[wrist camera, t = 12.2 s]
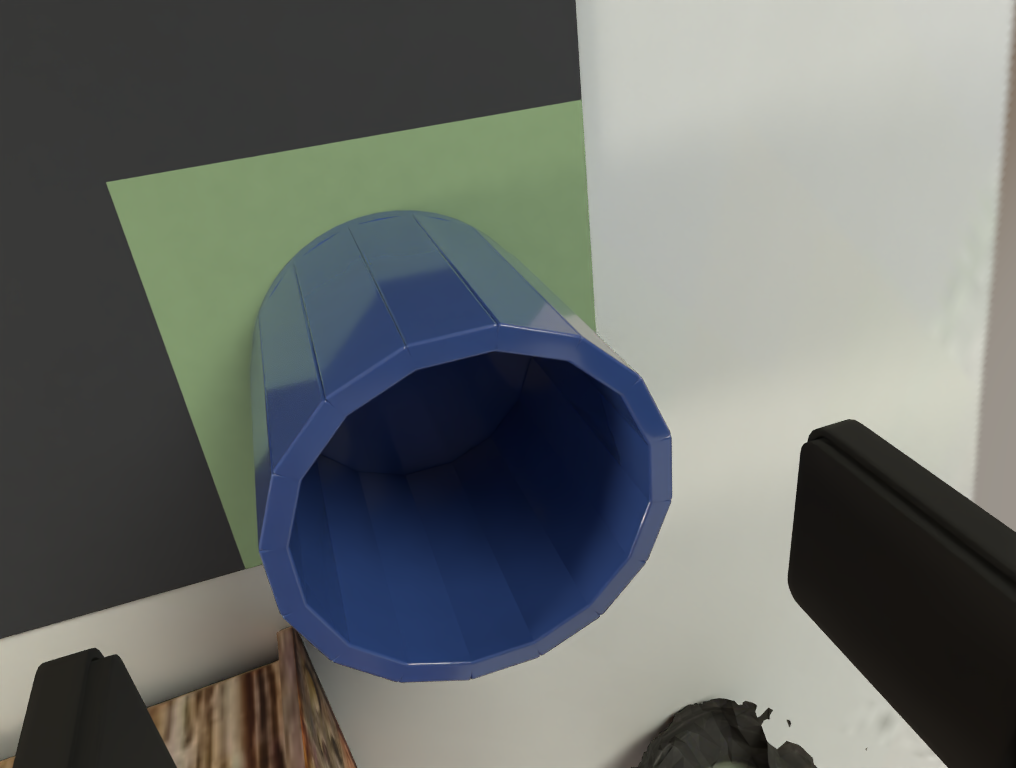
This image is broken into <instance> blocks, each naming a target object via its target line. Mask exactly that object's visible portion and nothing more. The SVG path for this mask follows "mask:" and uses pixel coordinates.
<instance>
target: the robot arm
mask: <svg viewBox="0 0 1016 768" xmlns="http://www.w3.org/2000/svg"><path fill="white" fill-rule="evenodd" d="M788 585H789V589H790V591H791V594H792V596H793V598H794V599H795V601H796V602H797V603H798V605H799V606H800V607H801V608H802V609H803V610H804V611H805V612H806V613H807V614H808V616H809V617H810V618H811V619H812V620H813V621H814V622H815V623H816V624H817V625H818V626H819V628H820V629H821V630H822V631H823V632H824V633H825V634H826V635H827V636H828V637H829V638H830V639H831V641H832V642H833V643H834V644H835V645H836V646H837V647H838V648H839V649H840V650H841V651H842V653H843V654H844V655H845V656H846V657H847V658H848V659H849V660H850V661H851V662H852V663H853V665H854V666H855V667H856V668H857V669H858V670H859V671H860V672H861V673H862V674H863V675H864V677H865V678H866V679H867V680H868V681H869V682H870V683H871V684H872V685H873V686H874V687H875V688H876V690H877V691H878V692H879V693H880V694H881V695H882V696H883V697H884V698H885V699H886V700H887V702H888V703H889V704H890V705H891V706H892V707H893V708H894V709H895V710H896V711H897V712H898V714H899V715H900V716H901V717H902V718H903V719H904V720H905V721H906V722H907V723H908V724H909V726H910V727H911V728H912V729H913V730H914V731H915V732H916V733H917V734H918V735H919V736H920V738H921V739H922V740H923V741H924V742H925V743H926V744H927V745H928V746H929V747H930V748H931V749H932V751H933V752H934V753H935V754H936V755H937V756H938V757H939V758H940V759H941V760H942V761H943V763H944V764H945V765H946V766H947V767H948V768H1016V532H1014V531H1013V530H1012V529H1010V528H1009V527H1007V526H1006V525H1005V524H1003V523H1002V522H1000V521H999V520H997V519H996V518H995V517H993V516H992V515H990V514H989V513H988V512H986V511H985V510H983V509H982V508H980V507H979V506H978V505H976V504H975V503H973V502H972V501H971V500H969V499H968V498H966V497H965V496H963V495H962V494H961V493H959V492H958V491H956V490H955V489H953V488H952V487H951V486H949V485H948V484H946V483H945V482H944V481H942V480H941V479H939V478H938V477H936V476H935V475H934V474H932V473H931V472H929V471H928V470H927V469H925V468H924V467H922V466H921V465H919V464H918V463H917V462H915V461H914V460H912V459H911V458H910V457H908V456H907V455H905V454H904V453H902V452H901V451H900V450H898V449H897V448H895V447H894V446H892V445H891V444H890V443H888V442H887V441H885V440H884V439H883V438H881V437H880V436H878V435H877V434H875V433H874V432H873V431H871V430H870V429H868V428H867V427H866V426H864V425H863V424H861V423H860V422H858V421H856V420H850V419H848V420H844V421H841V422H838V423H834V424H831V425H828V426H825V427H821V428H818V429H815V430H813V431H812V432H811V434H810V435H809V438H808V442H807V443H805V444H804V445H803V446H802V448H801V453H800V463H799V472H798V482H797V492H796V501H795V511H794V521H793V531H792V540H791V550H790V560H789V570H788ZM12 768H177V766H176V764H175V763H174V761H173V759H172V757H171V755H170V753H169V751H168V749H167V747H166V745H165V743H164V741H163V739H162V737H161V735H160V733H159V731H158V729H157V728H156V726H155V724H154V722H153V720H152V718H151V716H150V714H149V712H148V710H147V708H146V706H145V704H144V702H143V700H142V698H141V696H140V694H139V692H138V691H137V689H136V687H135V685H134V683H133V681H132V679H131V677H130V675H129V673H128V671H127V669H126V667H125V665H124V663H123V661H122V660H121V658H120V657H119V656H118V655H117V654H115V655H111V656H108V657H104V656H103V655H102V653H101V652H100V651H99V650H98V649H96V648H91V649H88V650H84V651H81V652H78V653H74V654H71V655H68V656H65V657H61V658H58V659H55V660H51V661H48V662H45V663H42V664H41V665H40V666H39V667H38V669H37V672H36V675H35V678H34V682H33V687H32V691H31V695H30V699H29V703H28V707H27V711H26V715H25V719H24V723H23V727H22V731H21V735H20V739H19V743H18V747H17V751H16V755H15V759H14V763H13V767H12Z"/></svg>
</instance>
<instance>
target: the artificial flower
mask: <svg viewBox="0 0 1016 768" xmlns="http://www.w3.org/2000/svg"><path fill="white" fill-rule="evenodd" d="M756 707H757V705H756V704H754V703H751V702H747V701H745V702H743V705H738V704H737V703H736V702H735V701H731V700H728V699H721V698H718V699H712V700H710V701H707V702H703V705H702V704H699V705H698V704H697V703H694V705H688V706H687V707H685V708H684V709H683V710H682V711H681V712H679V713H675V718H674V719H673V722H672V723H671V725H670V726H669V727H668V729H667V730H665V731H663V732H661V733H659V737H656V738H655V739H654V740H653V741H652V742H651V743H650V745H649V746H648V749H647V752H644V754H643V757H642V762H640V764H639V765H638V767H631V768H817V767H816V766H815V765H814V763H813V758H812V757H811V756H810V755H809V754H808V753H807V752H806V751H805V750H804V749H803V748H802V747H801V746H799V745H797V744H794V743H791V742H788V741H786V742H785V743H784V744H783V745H782V746H780V747H779V748H778V749H776V748H774V747H773V746H772V745H770V744H769V743H768V742H767V740H766V737H765V734H764V732H763V729H762V726H761V725H762V723H763V721H764V720H766V719H769V718H770V714H771V712H772V711H773V710H772V709H770V708H768V709H767V710H766V711H765V712H764V713H763V714H762V715H761V716H760V717H758V718H757V716H756V713H755V710H756ZM787 723H788V725H789V727H790V725H791V722H790V721H789V720H787ZM866 751H867V748H866Z"/></svg>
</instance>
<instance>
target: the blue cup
mask: <svg viewBox="0 0 1016 768" xmlns="http://www.w3.org/2000/svg"><path fill="white" fill-rule="evenodd" d="M251 354H252V358H251V364H250V391H251V411H252V431H253V451H254V471H255V491H256V512H257V532H258V548H259V555H260V558H261V560H262V563H263V566H264V569H265V572H266V575H267V578H268V581H269V584H270V586H271V589H272V592H273V595H274V598H275V601H276V604H277V607H278V610H279V612H280V614H281V615H282V617H283V618H284V619H285V620H286V621H287V622H288V623H289V624H290V625H291V626H292V627H294V628H295V629H296V630H297V631H298V632H299V633H300V634H301V635H302V636H304V637H305V638H306V639H307V640H308V641H309V642H310V643H311V644H313V645H314V646H315V647H316V648H317V649H318V650H319V651H320V652H321V653H323V654H324V655H325V656H326V657H327V658H328V659H329V660H331V661H333V662H334V663H337V664H340V665H343V666H347V667H350V668H353V669H356V670H359V671H363V672H366V673H369V674H372V675H375V676H378V677H382V678H385V679H388V680H391V681H394V682H398V681H399V682H401V683H406V682H433V681H461V680H470V679H475V678H478V677H481V676H484V675H487V674H490V673H493V672H496V671H499V670H502V669H505V668H508V667H511V666H514V665H517V664H520V663H523V662H526V661H529V660H532V659H535V658H538V657H539V656H540V655H544V654H545V653H547V652H548V651H550V650H551V649H553V648H554V647H556V646H557V645H559V644H560V643H562V642H563V641H565V640H566V639H568V638H569V637H571V636H572V635H574V634H575V633H577V632H578V631H580V630H581V629H583V628H584V627H586V626H587V625H589V624H590V623H592V622H593V621H595V620H596V619H598V618H599V617H600V615H602V614H603V613H604V612H605V611H606V610H607V609H608V607H609V606H610V605H611V604H612V603H613V602H614V600H615V599H616V598H617V597H618V596H619V594H620V593H621V592H622V591H623V590H624V589H625V587H626V586H627V585H628V584H629V583H630V581H631V580H632V579H633V578H634V577H635V576H636V574H637V573H638V572H639V571H640V570H641V568H642V567H643V566H644V565H645V563H646V561H647V560H648V558H649V556H650V553H651V551H652V548H653V546H654V543H655V541H656V538H657V536H658V533H659V531H660V529H661V526H662V524H663V521H664V519H665V516H666V514H667V511H668V509H669V506H670V504H671V499H672V438H671V435H670V430H669V428H668V426H667V425H666V423H665V421H664V419H663V417H662V415H661V413H660V411H659V409H658V407H657V405H656V403H655V402H654V400H653V398H652V396H651V394H650V392H649V390H648V388H647V386H646V384H645V382H644V380H643V379H642V377H641V376H640V375H639V374H638V373H637V372H636V371H635V370H634V369H633V368H632V367H631V366H630V365H629V364H627V363H626V362H625V361H624V360H623V359H622V358H621V357H620V356H619V355H618V354H617V353H616V352H615V351H614V350H613V349H612V348H611V347H610V346H609V345H608V344H607V343H606V342H604V341H603V340H602V339H601V338H600V337H599V336H598V335H597V334H596V333H595V332H594V331H593V330H592V329H591V328H590V327H589V326H588V325H587V324H586V323H585V322H584V321H582V320H581V319H580V318H579V317H578V316H577V315H576V314H575V313H574V312H573V311H572V310H571V309H570V308H569V307H568V306H567V305H566V304H565V303H564V302H563V301H562V300H560V299H559V298H558V297H557V296H556V295H555V294H554V293H553V292H552V291H551V290H550V289H549V288H548V287H547V286H546V285H545V284H544V283H543V282H542V281H541V280H540V279H538V278H537V277H536V276H535V275H534V274H533V273H532V272H531V271H530V270H529V269H528V268H527V267H526V266H525V265H524V264H523V263H522V262H521V261H520V260H519V259H518V258H516V257H515V256H514V255H512V254H511V253H509V252H508V251H507V250H505V249H504V248H503V247H502V246H500V245H499V244H498V243H497V242H496V241H494V240H493V239H492V238H491V237H489V236H488V235H487V234H485V233H483V232H482V231H480V230H478V229H477V228H475V227H473V226H472V225H469V224H467V223H465V222H462V221H460V220H458V219H455V218H452V217H448V216H445V215H441V214H437V213H431V212H424V211H417V210H396V211H388V212H380V213H374V214H370V215H366V216H363V217H359V218H355V219H353V220H350V221H348V222H345V223H343V224H341V225H338V226H336V227H334V228H332V229H330V230H329V231H327V232H325V233H323V234H322V235H320V236H318V237H317V238H315V239H314V240H313V241H311V242H310V243H309V244H308V245H306V246H305V247H304V248H302V249H301V250H300V251H299V252H298V253H297V254H296V255H295V256H294V257H293V258H292V259H291V260H290V261H289V262H288V263H287V264H286V265H285V266H284V268H283V269H282V270H281V272H280V273H279V274H278V276H277V277H276V278H275V280H274V281H273V283H272V285H271V286H270V288H269V290H268V292H267V294H266V295H265V297H264V299H263V302H262V305H261V307H260V310H259V312H258V315H257V319H256V323H255V327H254V332H253V339H252V352H251Z"/></svg>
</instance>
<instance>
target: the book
mask: <svg viewBox="0 0 1016 768" xmlns="http://www.w3.org/2000/svg"><path fill="white" fill-rule="evenodd" d="M277 642H278V655H279V660H278V661H275V662H272V663H270V664H267V665H264V666H261V667H259V668H256V669H253V670H250V671H248V672H245V673H242V674H239V675H237V676H234V677H231V678H228V679H226V680H223V681H220V682H217V683H214V684H212V685H209V686H206V687H203V688H201V689H198V690H195V691H192V692H190V693H187V694H184V695H181V696H179V697H176V698H173V699H170V700H168V701H165V702H162V703H159V704H156V705H154V706H151V707H148V708H147V710H148V712H149V714H150V716H151V718H152V720H153V722H154V724H155V726H156V728H157V729H158V731H159V733H160V735H161V737H162V739H163V741H164V743H165V745H166V747H167V749H168V751H169V753H170V755H171V757H172V759H173V761H174V763H175V764H176V766H177V768H357V766H356V763H355V761H354V759H353V756H352V754H351V752H350V750H349V747H348V745H347V743H346V740H345V738H344V736H343V733H342V731H341V729H340V727H339V724H338V722H337V720H336V717H335V715H334V713H333V711H332V708H331V706H330V704H329V701H328V699H327V697H326V695H325V692H324V690H323V688H322V685H321V683H320V681H319V678H318V676H317V674H316V672H315V669H314V667H313V665H312V662H311V660H310V658H309V656H308V653H307V651H306V649H305V646H304V644H303V642H302V640H301V637H300V635H299V633H298V631H297V630H296V629H295V628H294V627H292V626H291V627H288V628H285V629H282V630H280V631H279V632H277ZM14 759H15V756H13V757H10V758H7V759H5V760H2V761H0V768H12V767H13V763H14Z"/></svg>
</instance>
